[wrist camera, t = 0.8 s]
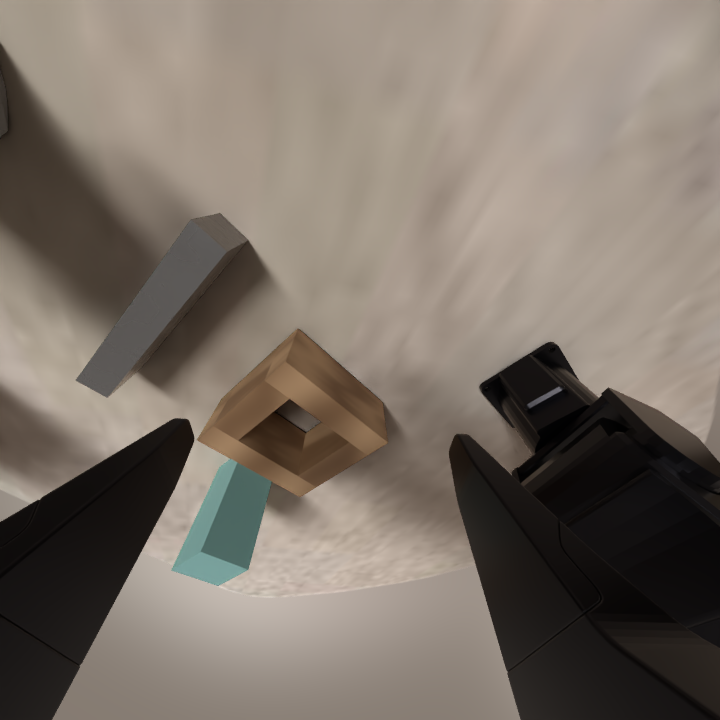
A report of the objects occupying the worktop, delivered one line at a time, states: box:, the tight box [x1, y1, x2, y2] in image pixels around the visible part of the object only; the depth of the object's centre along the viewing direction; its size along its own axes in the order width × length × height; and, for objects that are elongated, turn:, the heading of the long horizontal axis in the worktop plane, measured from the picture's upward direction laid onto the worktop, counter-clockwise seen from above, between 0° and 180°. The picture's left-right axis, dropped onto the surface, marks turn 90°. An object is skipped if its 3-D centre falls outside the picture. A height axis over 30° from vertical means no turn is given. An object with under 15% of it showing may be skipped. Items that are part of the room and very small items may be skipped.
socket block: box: [197, 329, 388, 497], centre depth 22 cm, size 10×10×4 cm
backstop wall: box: [76, 213, 248, 398], centre depth 18 cm, size 2×14×4 cm, turn 132°
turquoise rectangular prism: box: [172, 459, 272, 586], centre depth 25 cm, size 4×4×9 cm
